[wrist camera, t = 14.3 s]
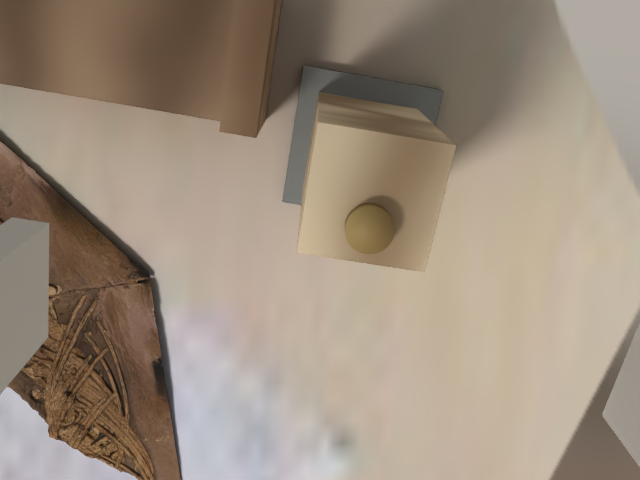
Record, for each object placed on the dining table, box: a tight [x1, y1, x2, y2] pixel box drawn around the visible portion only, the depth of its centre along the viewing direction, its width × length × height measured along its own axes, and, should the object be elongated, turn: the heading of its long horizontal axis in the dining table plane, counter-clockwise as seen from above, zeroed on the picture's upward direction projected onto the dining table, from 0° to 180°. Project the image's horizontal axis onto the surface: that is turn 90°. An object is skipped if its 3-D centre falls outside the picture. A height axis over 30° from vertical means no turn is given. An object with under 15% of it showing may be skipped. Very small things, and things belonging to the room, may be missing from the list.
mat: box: [282, 65, 443, 205], centre depth 30 cm, size 7×7×1 cm
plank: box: [0, 0, 282, 138], centre depth 26 cm, size 24×6×5 cm, turn 80°
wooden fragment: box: [0, 142, 181, 480], centre depth 34 cm, size 26×11×1 cm, turn 16°
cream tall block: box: [297, 92, 456, 272], centre depth 25 cm, size 5×5×10 cm
